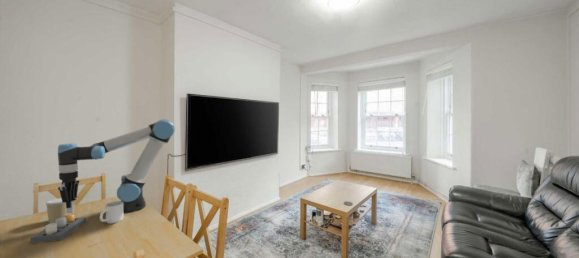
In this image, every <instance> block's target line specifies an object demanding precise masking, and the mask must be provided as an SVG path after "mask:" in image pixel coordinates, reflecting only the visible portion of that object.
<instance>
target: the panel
mask: <svg viewBox="0 0 579 258" xmlns="http://www.w3.org/2000/svg"><path fill="white" fill-rule="evenodd" d="M85 223H87V217H75V221H74V222H72V223H66V227H65V228H63V229H57V233H56V234H54V235H47V236H46V230H45V229H42V230H41V231H40V232H37V233H36V234H34V235H33V236H31V237H30V243H31V244H32V243H43V242H53V241H55V242H56V241H62V240H63V239H64V238H65V237H67V236H69V235H70V234H72V233H73V232H74V231H76V230H77V229H78V228H79V227H81V226H82V225H84V224H85Z"/></svg>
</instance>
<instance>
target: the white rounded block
mask: <svg viewBox="0 0 579 258" xmlns="http://www.w3.org/2000/svg"><path fill="white" fill-rule="evenodd" d="M44 228H45V230H46V236H47V235H54V234H56V233H57V223H48V224H45V227H44Z"/></svg>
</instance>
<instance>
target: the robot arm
mask: <svg viewBox="0 0 579 258" xmlns="http://www.w3.org/2000/svg"><path fill="white" fill-rule="evenodd" d="M175 128H176V127H175V124H174V123H173V122H172V121H170V120H169V119H164V118H163V119H159V120H157V121H155V122H154V123H150V124H148V126H147V127H143V128H140V129H136V130H134V131H131V132H128V133H124V134H122V135H119V136H116V137H113V138H109V139H107V140H103V141H99V142H96V143H93V144H91V145H89V146H78V145H77V144H76V143H74V142H73V143H61V144H59V145H58V146H57V157H58V158H57V160H58V172H59V173H58V179H59V180H60V181H61V186H58V187H57V190H58V191H59V195H60V198H62V202H63V203H65V202H66V210H67V213H68V214H74V213H75V201H76V200H77V197H78V190H79V183H80V180H77V178H79V172H78V170H79V165H78V161H87V160H89V161H90V160H91V161H93V160H100V159H104V158H105V156H106V154H108V153H110V152H112V151H116V150H118V149H122V148H124V147H127V146H131V145H134V144H137V143H140V142H143V141H146V140H148V141H147V144H146V145H145V146H144V149H143V151H142V152H141V154H140V155H139V158H138V159H137V161H136V163H135V165H134V166H133V168H132V170H131V172H130V173H129V174H124V175H123V174H122V175H121V179H120V180H121V183H120V185H119V187H118V188H117V190H116V196H117V198H118V199H119V201H122V202H123V208H124V213H131V212H137V211H139V210H142V209H145V208H146V205H147V204H146V203H147V202H146V200H145V197H144V194H143V191H144V190H143V189H144V186H145V184H146V182H147V180H146V177H147V175H148V174H149V172H150V170H151V168H152V167H153V165H154V163H155V161H156V159H157V157H158V155H159V154H160V152H161V150H162V149H163V147H164V145H166V144H168V143H169V141H170V139H171V137H173V135H174V133H175V132H176V131H175V130H176V129H175Z"/></svg>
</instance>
